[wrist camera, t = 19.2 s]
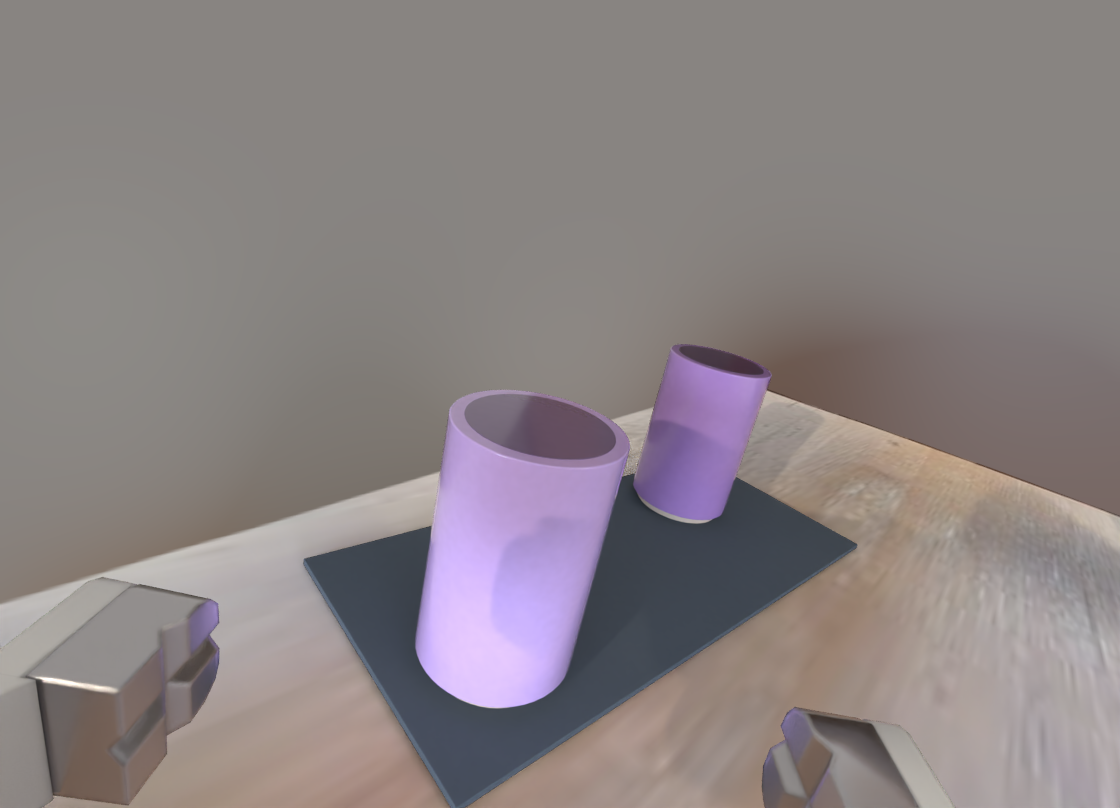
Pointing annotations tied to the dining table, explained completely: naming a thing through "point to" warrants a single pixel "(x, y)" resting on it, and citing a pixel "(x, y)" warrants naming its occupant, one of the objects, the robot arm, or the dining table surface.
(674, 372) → the heather tumbler
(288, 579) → the dining table surface
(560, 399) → the lilac tumbler
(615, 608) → the placemat
